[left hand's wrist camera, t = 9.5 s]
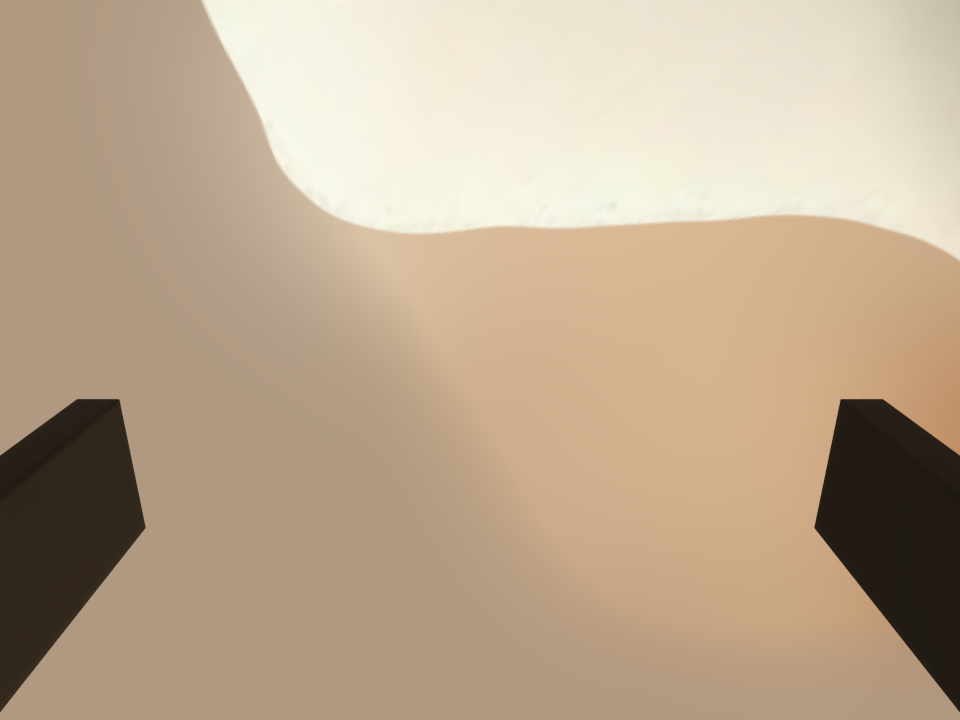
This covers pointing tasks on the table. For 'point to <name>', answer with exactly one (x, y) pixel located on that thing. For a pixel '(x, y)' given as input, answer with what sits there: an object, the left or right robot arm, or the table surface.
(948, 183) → the table surface
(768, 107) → the table surface
